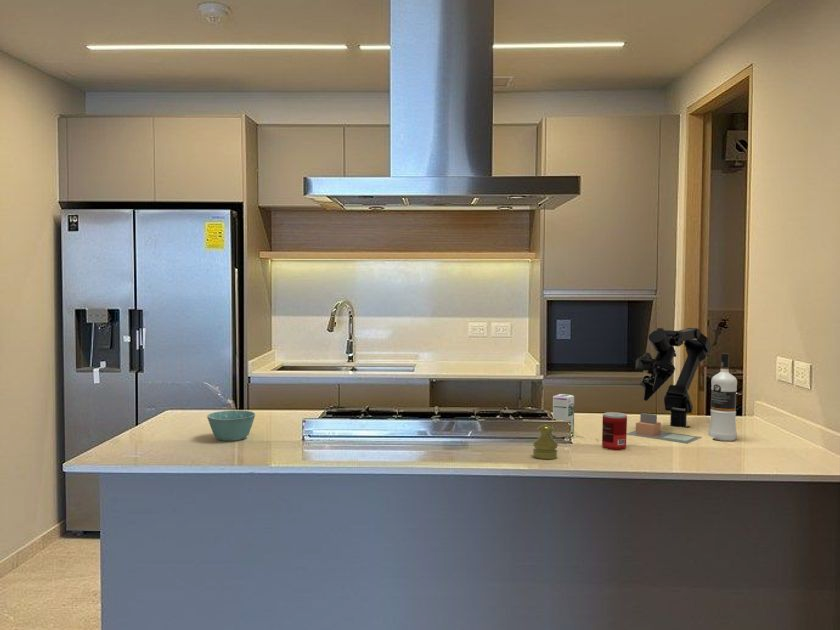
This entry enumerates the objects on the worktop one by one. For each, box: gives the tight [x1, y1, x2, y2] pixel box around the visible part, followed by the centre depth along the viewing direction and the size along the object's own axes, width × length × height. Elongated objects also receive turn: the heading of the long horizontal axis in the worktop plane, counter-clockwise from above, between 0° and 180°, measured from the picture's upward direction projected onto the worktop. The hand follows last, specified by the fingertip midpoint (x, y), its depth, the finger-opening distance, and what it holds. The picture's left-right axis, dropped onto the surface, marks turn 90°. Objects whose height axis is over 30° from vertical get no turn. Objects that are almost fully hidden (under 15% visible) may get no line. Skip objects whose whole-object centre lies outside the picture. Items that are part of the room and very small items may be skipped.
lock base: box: [627, 429, 703, 445], centre depth 258 cm, size 14×22×4 cm, turn 50°
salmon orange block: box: [635, 412, 662, 436], centre depth 262 cm, size 6×6×7 cm
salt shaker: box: [532, 424, 559, 460], centre depth 229 cm, size 7×7×10 cm
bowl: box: [206, 409, 256, 442], centre depth 249 cm, size 16×16×8 cm
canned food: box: [601, 411, 628, 451], centre depth 243 cm, size 8×8×11 cm
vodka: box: [707, 352, 738, 442], centre depth 258 cm, size 9×9×30 cm
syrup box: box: [552, 393, 575, 437], centre depth 260 cm, size 6×6×14 cm
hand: (649, 395), depth 260 cm, fingers open, 9 cm apart
